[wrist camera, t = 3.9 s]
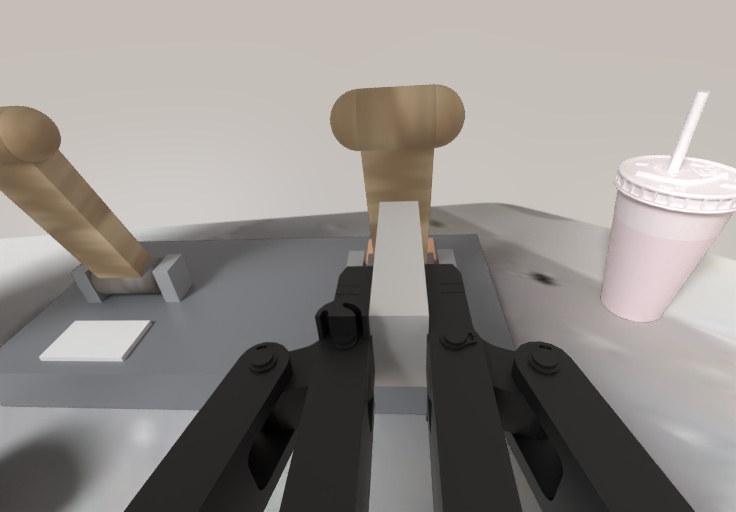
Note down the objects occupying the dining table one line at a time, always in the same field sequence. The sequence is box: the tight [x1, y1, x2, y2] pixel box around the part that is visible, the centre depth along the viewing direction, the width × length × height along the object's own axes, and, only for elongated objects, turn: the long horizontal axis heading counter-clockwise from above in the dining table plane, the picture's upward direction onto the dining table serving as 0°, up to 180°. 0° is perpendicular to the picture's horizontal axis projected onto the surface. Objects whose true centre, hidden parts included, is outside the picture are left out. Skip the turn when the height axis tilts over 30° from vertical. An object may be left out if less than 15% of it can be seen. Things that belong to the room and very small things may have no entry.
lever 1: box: [0, 106, 164, 294], centre depth 22 cm, size 5×2×13 cm, turn 86°
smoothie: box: [601, 90, 736, 322], centre depth 23 cm, size 6×6×14 cm
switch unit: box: [0, 234, 516, 414], centre depth 26 cm, size 30×14×6 cm, turn 86°
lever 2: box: [330, 84, 465, 266], centre depth 20 cm, size 5×2×13 cm, turn 86°
